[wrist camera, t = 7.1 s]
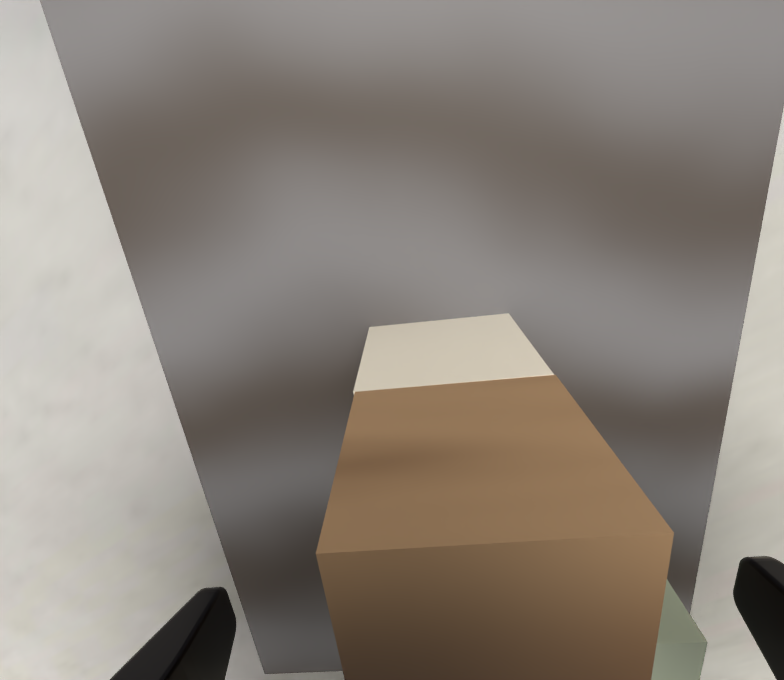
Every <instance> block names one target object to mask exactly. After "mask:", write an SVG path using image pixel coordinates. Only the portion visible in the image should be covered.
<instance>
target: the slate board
mask: <svg viewBox="0 0 784 680" xmlns="http://www.w3.org/2000/svg"><path fill="white" fill-rule="evenodd" d="M40 2H41V5H42V8H43V11H44V14H45V17H46V20H47V23H48V26H49V29H50V32H51V35H52V38H53V41H54V44H55V47H56V50H57V53H58V56H59V59H60V62H61V65H62V68H63V71H64V74H65V77H66V80H67V83H68V86H69V89H70V92H71V95H72V98H73V101H74V104H75V107H76V110H77V113H78V116H79V119H80V122H81V125H82V128H83V131H84V134H85V137H86V140H87V143H88V146H89V149H90V152H91V155H92V158H93V161H94V164H95V167H96V170H97V173H98V176H99V179H100V182H101V185H102V188H103V191H104V194H105V197H106V200H107V203H108V206H109V209H110V212H111V215H112V218H113V221H114V224H115V227H116V230H117V233H118V236H119V239H120V242H121V245H122V248H123V251H124V254H125V257H126V260H127V263H128V266H129V269H130V272H131V275H132V278H133V281H134V284H135V287H136V290H137V293H138V296H139V299H140V302H141V305H142V308H143V311H144V314H145V317H146V320H147V323H148V326H149V329H150V332H151V335H152V338H153V341H154V344H155V347H156V350H157V353H158V356H159V359H160V362H161V365H162V368H163V371H164V374H165V377H166V380H167V383H168V386H169V389H170V391H171V394H172V397H173V400H174V403H175V406H176V409H177V412H178V415H179V418H180V421H181V424H182V427H183V430H184V433H185V436H186V439H187V442H188V445H189V448H190V451H191V454H192V457H193V460H194V463H195V466H196V469H197V472H198V475H199V478H200V481H201V484H202V487H203V490H204V493H205V496H206V499H207V502H208V505H209V508H210V511H211V514H212V517H213V520H214V523H215V526H216V529H217V532H218V535H219V538H220V541H221V544H222V547H223V550H224V553H225V556H226V559H227V562H228V565H229V568H230V571H231V574H232V577H233V580H234V583H235V586H236V589H237V592H238V595H239V598H240V601H241V604H242V607H243V610H244V613H245V616H246V619H247V622H248V625H249V628H250V631H251V634H252V637H253V640H254V643H255V646H256V649H257V652H258V655H259V658H260V661H261V664H262V667H263V670H264V673H265V674H277V673H301V672H326V671H343V670H342V665H341V661H340V657H339V652H338V648H337V644H336V639H335V635H334V631H333V626H332V622H331V618H330V613H329V609H328V605H327V600H326V596H325V592H324V587H323V583H322V579H321V574H320V570H319V566H318V561H317V557H316V551H317V546H318V542H319V538H320V534H321V530H322V526H323V522H324V518H325V513H326V509H327V505H328V501H329V497H330V493H331V489H332V484H333V480H334V476H335V472H336V468H337V464H338V460H339V455H340V451H341V447H342V443H343V439H344V435H345V431H346V427H347V422H348V418H349V414H350V410H351V406H352V402H353V398H354V394H353V390H354V386H355V382H356V378H357V374H358V370H359V366H360V362H361V358H362V354H363V350H364V346H365V342H366V338H367V334H368V330H369V327H375V326H385V325H395V324H406V323H416V322H426V321H436V320H446V319H456V318H467V317H477V316H487V315H497V314H507V313H509V314H510V316H511V317H512V318H513V320H514V321H515V323H516V324H517V325H518V327H519V328H520V329H521V331H522V332H523V333H524V335H525V336H526V337H527V339H528V340H529V341H530V343H531V344H532V345H533V347H534V348H535V350H536V351H537V352H538V354H539V355H540V356H541V358H542V359H543V360H544V362H545V363H546V364H547V366H548V367H549V368H550V370H551V371H552V372H553V374H554V375H556V376H557V377H558V379H559V380H560V381H561V383H562V384H563V385H564V387H565V388H566V389H567V391H568V392H569V393H570V395H571V396H572V397H573V399H574V400H575V401H576V403H577V404H578V405H579V407H580V408H581V409H582V411H583V412H584V413H585V415H586V416H587V417H588V419H589V420H590V421H591V423H592V424H593V425H594V427H595V428H596V429H597V431H598V432H599V433H600V435H601V436H602V437H603V439H604V440H605V441H606V443H607V444H608V445H609V447H610V448H611V449H612V451H613V452H614V453H615V455H616V456H617V457H618V459H619V460H620V461H621V463H622V464H623V465H624V467H625V468H626V469H627V471H628V472H629V473H630V475H631V476H632V477H633V479H634V480H635V481H636V483H637V484H638V485H639V487H640V488H641V489H642V491H643V492H644V493H645V495H646V496H647V497H648V499H649V500H650V501H651V503H652V504H653V505H654V507H655V508H656V509H657V511H658V512H659V513H660V515H661V516H662V517H663V519H664V520H665V521H666V523H667V524H668V525H669V527H670V528H671V529H672V531H673V532H674V536H673V543H672V549H671V555H670V562H669V568H668V575H667V580H668V582H669V583H670V585H671V586H672V588H673V589H674V591H675V592H676V594H677V596H678V597H679V599H680V600H681V602H682V603H683V605H684V606H685V608H686V610H687V611H688V613H689V614H690V610H691V604H692V599H693V593H694V588H695V583H696V577H697V572H698V566H699V561H700V556H701V550H702V545H703V539H704V534H705V528H706V523H707V518H708V512H709V507H710V501H711V496H712V491H713V485H714V480H715V474H716V469H717V464H718V458H719V453H720V447H721V442H722V437H723V431H724V426H725V420H726V415H727V410H728V404H729V399H730V393H731V388H732V383H733V377H734V372H735V366H736V361H737V356H738V350H739V345H740V339H741V334H742V328H743V323H744V318H745V312H746V307H747V301H748V296H749V291H750V285H751V280H752V274H753V269H754V264H755V258H756V253H757V247H758V242H759V237H760V231H761V226H762V220H763V215H764V210H765V204H766V199H767V193H768V188H769V183H770V177H771V172H772V166H773V161H774V155H775V150H776V145H777V139H778V134H779V128H780V123H781V118H782V112H783V107H784V0H40Z"/></svg>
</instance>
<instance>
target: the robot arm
mask: <svg viewBox="0 0 784 680" xmlns="http://www.w3.org/2000/svg"><path fill="white" fill-rule="evenodd" d="M733 595H734V601H735V603H736V606H737V608H738V610H739V612H740V614H741V616H742V617H743V619H744V621H745V623H746V625H747V627H748V628H749V630H750V632H751V634H752V636H753V637H754V639H755V641H756V643H757V645H758V647H759V648H760V650H761V652H762V654H763V656H764V657H765V659H766V661H767V663H768V665H769V667H770V668H771V670H772V672H773V674H774V676H775V677H776V679H777V680H784V564H783V563H782V562H780V561H778V560H776V559H774V558H772V557H768V556H758V557H745V558H743V559H742V560H741V561H740V563H739V568H738V572H737V576H736V581H735V585H734V590H733ZM235 632H236V617H235V614H234V611H233V608H232V605H231V602H230V599H229V596H228V594H227V591H226V590H225V589H224V588H223V587H214V588H204V589H201V590H200V591H198V592H197V593H196V594H195V595H194V596H193V597H192V598H191V599H190V600H189V601H188V602H187V603H186V604H185V605H184V606H183V607H182V608H181V609H180V610H179V611H178V612H177V613H176V614H175V615H174V616H173V617H172V618H171V619H170V620H169V621H168V622H167V623H166V624H165V625H164V626H163V627H162V628H161V629H160V630H159V631H158V632H157V633H156V634H155V635H154V636H153V637H152V638H151V639H150V640H149V641H148V642H147V643H146V644H145V645H144V646H143V647H142V648H141V649H140V650H139V651H138V652H137V653H136V654H135V655H134V656H133V657H132V658H131V659H130V660H129V661H128V662H127V663H126V664H125V665H124V666H123V667H122V668H121V669H120V670H119V671H118V672H117V673H116V674H115V675H114V676H113V677H112V678H111V679H110V680H225V676H226V671H227V667H228V663H229V658H230V654H231V650H232V645H233V641H234V637H235Z"/></svg>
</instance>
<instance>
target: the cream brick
mask: <svg viewBox="0 0 784 680" xmlns="http://www.w3.org/2000/svg"><path fill="white" fill-rule="evenodd" d="M546 375H554V374H553V372H552V371H551V370H550V368H549V367H548V366H547V364H546V363H545V362H544V360H543V359H542V358H541V356H540V355H539V354H538V352H537V351H536V350H535V348H534V347H533V345H532V344H531V343H530V341H529V340H528V339H527V337H526V336H525V335H524V333H523V332H522V331H521V329H520V328H519V327H518V325H517V324H516V323H515V321H514V320H513V318H512V317H511V316H510V314H509V313H507V314H497V315H487V316H477V317H467V318H456V319H446V320H436V321H426V322H416V323H406V324H395V325H385V326H375V327H369V330H368V334H367V338H366V342H365V346H364V350H363V354H362V358H361V362H360V366H359V370H358V374H357V378H356V382H355V386H354V390H353V394H354V393H355V392H358V391H369V390H381V389H393V388H405V387H416V386H428V385H440V384H452V383H464V382H475V381H487V380H499V379H511V378H523V377H534V376H546Z"/></svg>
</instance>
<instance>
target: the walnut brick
mask: <svg viewBox="0 0 784 680" xmlns="http://www.w3.org/2000/svg"><path fill="white" fill-rule="evenodd" d="M673 536H674V532H673V531H672V529H671V528H670V527H669V525H668V524H667V523H666V521H665V520H664V519H663V517H662V516H661V515H660V513H659V512H658V511H657V509H656V508H655V507H654V505H653V504H652V503H651V501H650V500H649V499H648V497H647V496H646V495H645V493H644V492H643V491H642V489H641V488H640V487H639V485H638V484H637V483H636V481H635V480H634V479H633V477H632V476H631V475H630V473H629V472H628V471H627V469H626V468H625V467H624V465H623V464H622V463H621V461H620V460H619V459H618V457H617V456H616V455H615V453H614V452H613V451H612V449H611V448H610V447H609V445H608V444H607V443H606V441H605V440H604V439H603V437H602V436H601V435H600V433H599V432H598V431H597V429H596V428H595V427H594V425H593V424H592V423H591V421H590V420H589V419H588V417H587V416H586V415H585V413H584V412H583V411H582V409H581V408H580V407H579V405H578V404H577V403H576V401H575V400H574V399H573V397H572V396H571V395H570V393H569V392H568V391H567V389H566V388H565V387H564V385H563V384H562V383H561V381H560V380H559V379H558V377H557V376H556V375H546V376H534V377H523V378H511V379H499V380H487V381H475V382H464V383H452V384H440V385H428V386H416V387H405V388H393V389H381V390H369V391H358V392H355V393H354V398H353V402H352V406H351V410H350V414H349V418H348V422H347V427H346V431H345V435H344V439H343V443H342V447H341V451H340V455H339V460H338V464H337V468H336V472H335V476H334V480H333V484H332V489H331V493H330V497H329V501H328V505H327V509H326V513H325V518H324V522H323V526H322V530H321V534H320V538H319V542H318V546H317V551H316V557H317V561H318V566H319V570H320V574H321V579H322V583H323V587H324V592H325V596H326V600H327V605H328V609H329V613H330V618H331V622H332V626H333V631H334V635H335V639H336V644H337V648H338V652H339V657H340V661H341V665H342V670H343V674H344V678H345V680H651V677H652V670H653V664H654V658H655V651H656V645H657V638H658V632H659V626H660V619H661V613H662V607H663V600H664V594H665V587H666V581H667V575H668V568H669V562H670V555H671V549H672V543H673Z"/></svg>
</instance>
